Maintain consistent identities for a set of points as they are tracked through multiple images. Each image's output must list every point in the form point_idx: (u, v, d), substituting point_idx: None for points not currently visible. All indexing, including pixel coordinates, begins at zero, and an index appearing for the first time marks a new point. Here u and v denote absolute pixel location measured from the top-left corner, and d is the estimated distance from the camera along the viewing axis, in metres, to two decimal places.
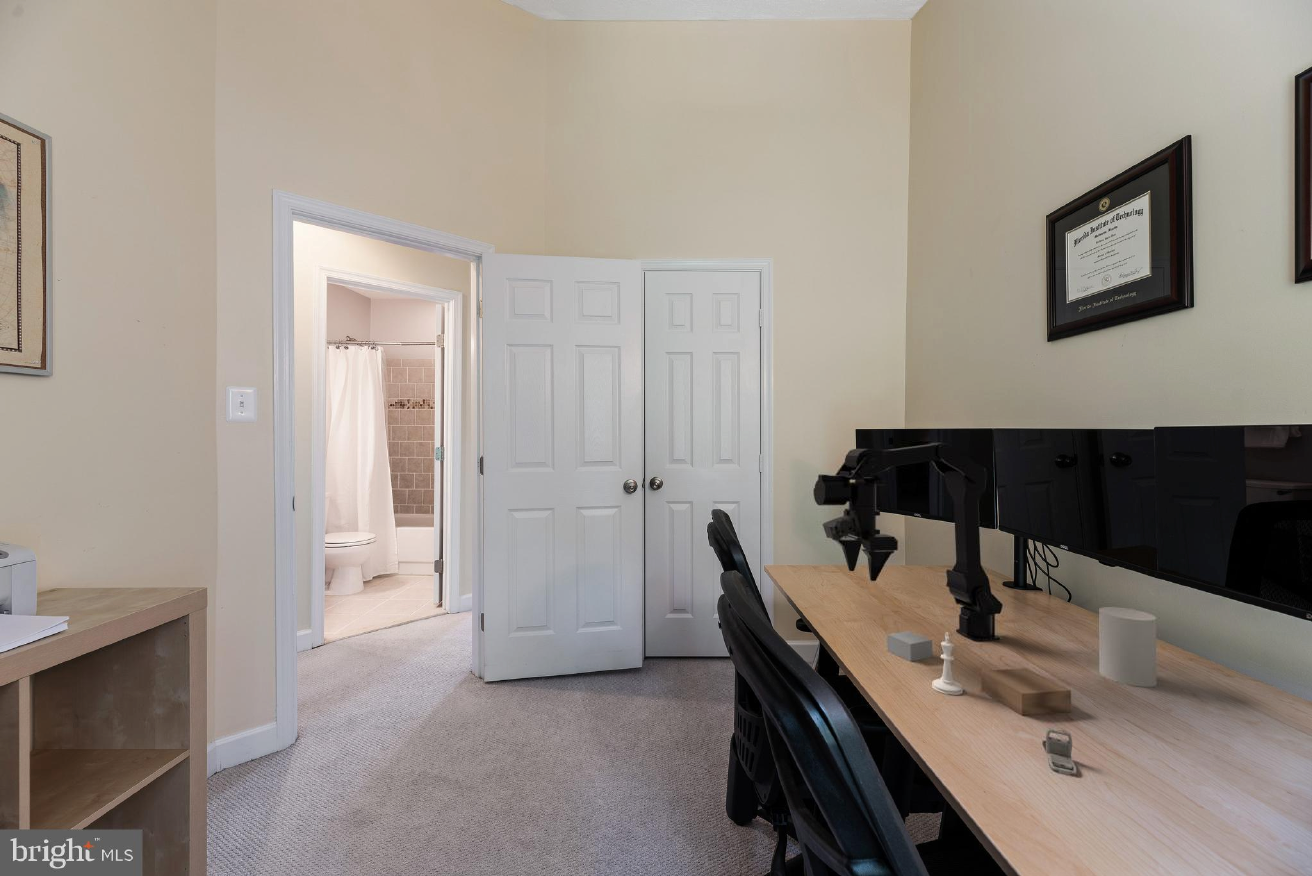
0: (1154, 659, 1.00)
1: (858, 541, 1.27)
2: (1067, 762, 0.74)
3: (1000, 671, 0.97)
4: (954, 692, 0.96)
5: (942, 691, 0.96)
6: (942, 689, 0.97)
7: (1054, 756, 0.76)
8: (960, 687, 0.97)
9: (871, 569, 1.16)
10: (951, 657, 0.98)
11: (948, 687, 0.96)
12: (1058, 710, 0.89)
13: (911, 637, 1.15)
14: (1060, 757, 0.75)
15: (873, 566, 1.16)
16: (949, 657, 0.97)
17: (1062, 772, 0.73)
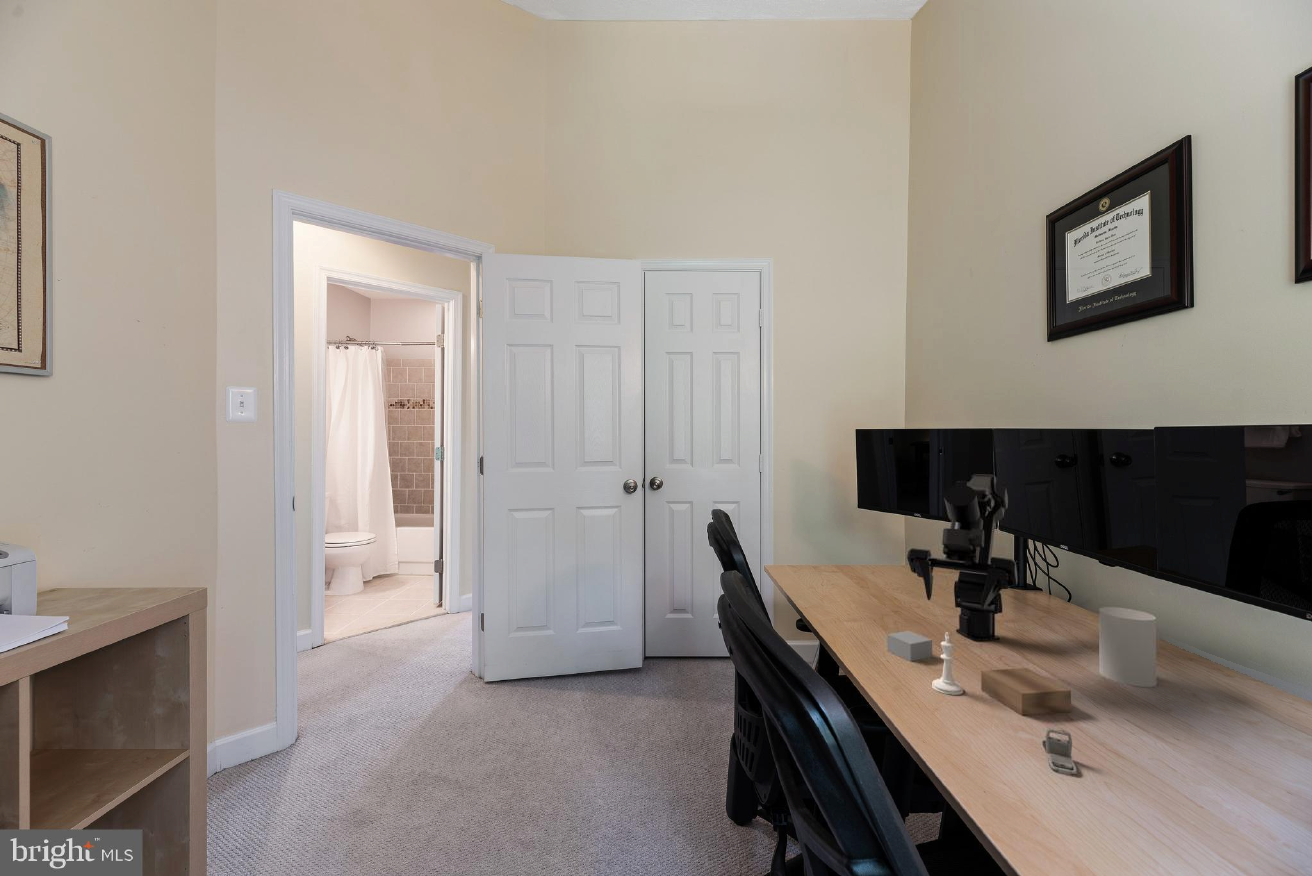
0: (1154, 659, 1.00)
1: (932, 575, 1.13)
2: (1067, 762, 0.74)
3: (1000, 671, 0.97)
4: (954, 692, 0.96)
5: (942, 691, 0.96)
6: (942, 689, 0.97)
7: (1054, 756, 0.76)
8: (960, 687, 0.97)
9: (989, 593, 1.02)
10: (951, 657, 0.98)
11: (948, 687, 0.96)
12: (1058, 710, 0.89)
13: (911, 637, 1.15)
14: (1060, 757, 0.75)
15: (990, 592, 1.03)
16: (949, 657, 0.97)
17: (1062, 772, 0.73)
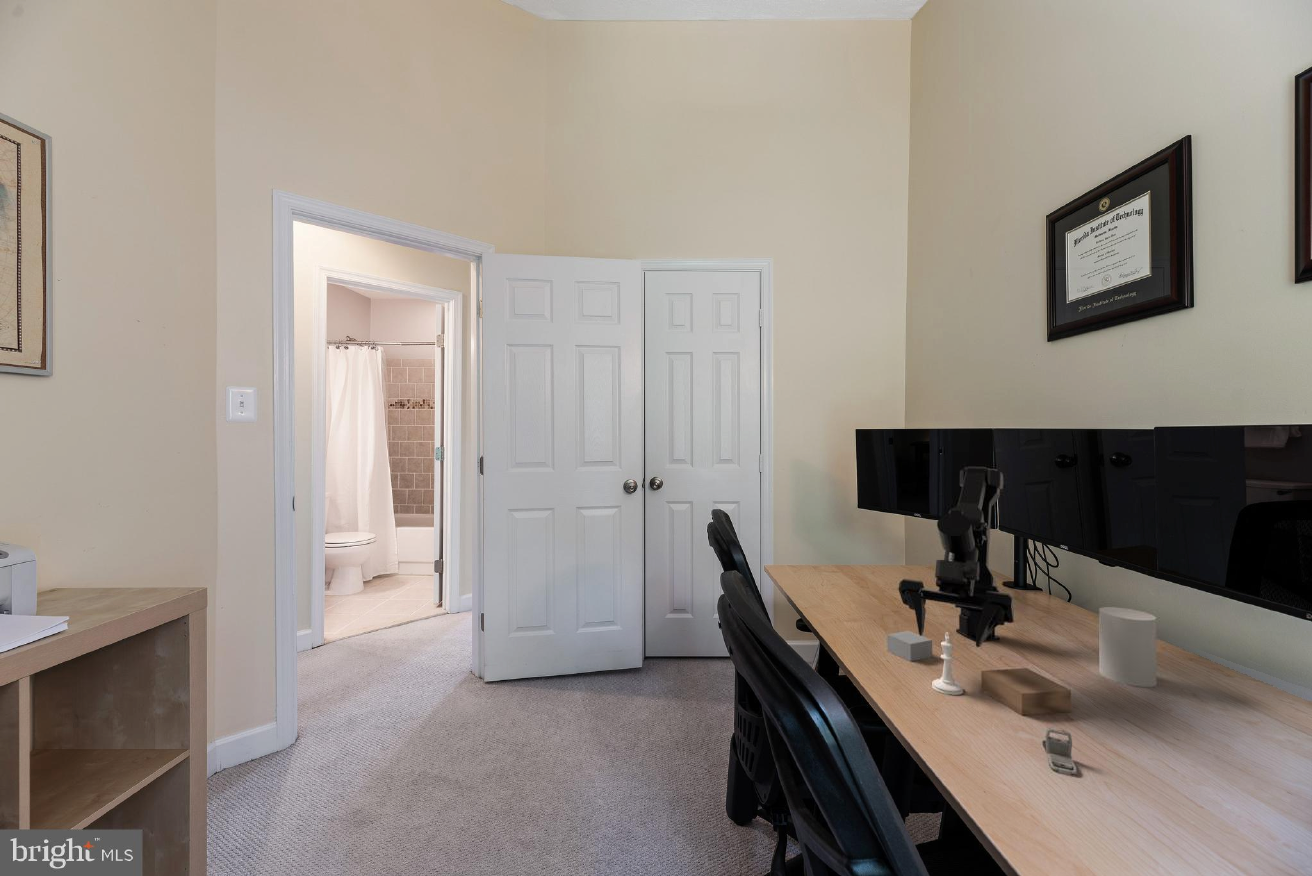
0: (1154, 659, 1.00)
1: (924, 608, 1.07)
2: (1067, 762, 0.74)
3: (1000, 671, 0.97)
4: (954, 692, 0.96)
5: (942, 691, 0.96)
6: (942, 689, 0.97)
7: (1054, 756, 0.76)
8: (960, 687, 0.97)
9: (984, 630, 0.96)
10: (951, 657, 0.98)
11: (948, 687, 0.96)
12: (1058, 710, 0.89)
13: (911, 637, 1.15)
14: (1060, 757, 0.75)
15: (986, 629, 0.97)
16: (949, 657, 0.97)
17: (1062, 772, 0.73)
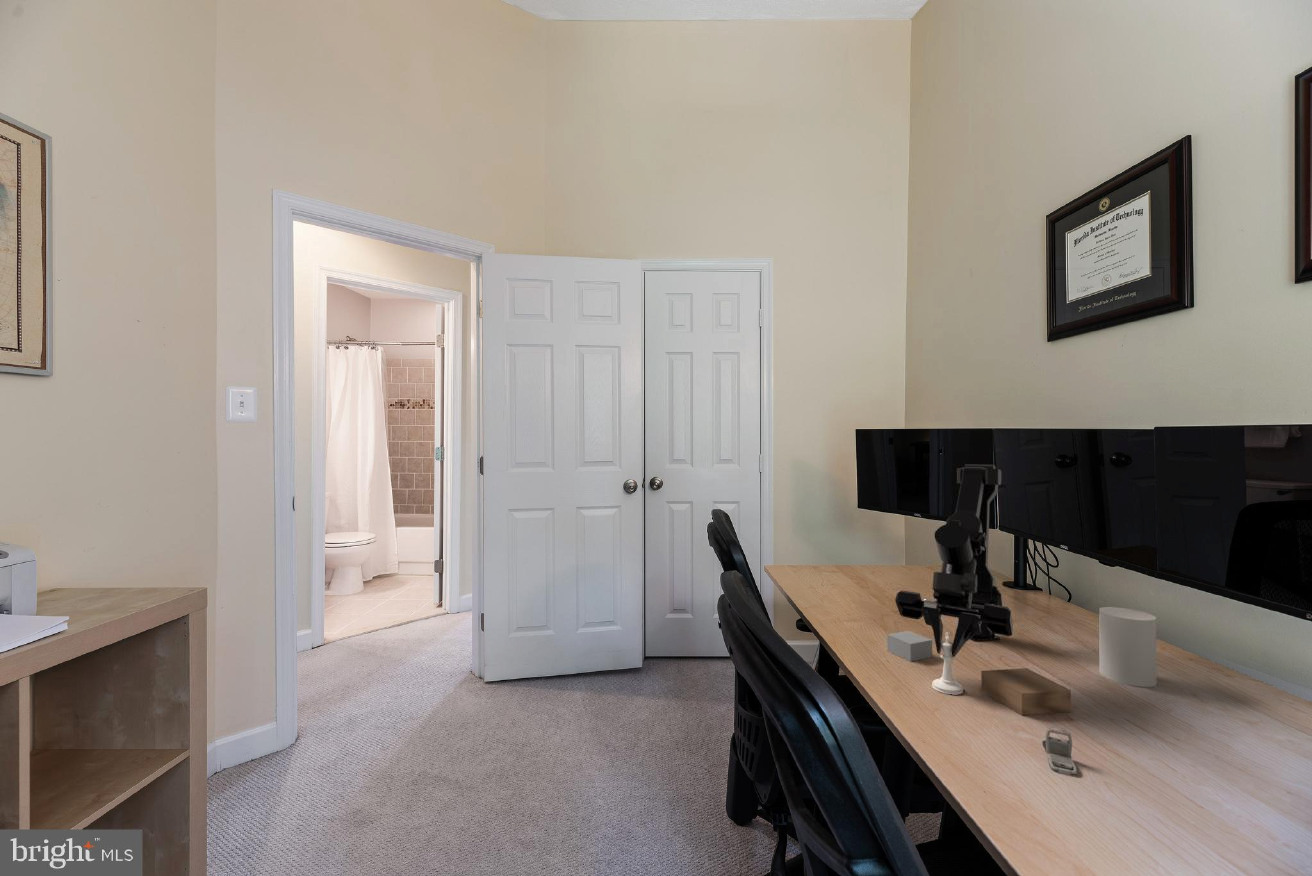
0: (1154, 659, 1.00)
1: (942, 624, 1.03)
2: (1067, 762, 0.74)
3: (1000, 671, 0.97)
4: (954, 692, 0.96)
5: (942, 691, 0.96)
6: (942, 689, 0.97)
7: (1054, 756, 0.76)
8: (960, 687, 0.97)
9: (959, 640, 0.97)
10: (951, 657, 0.98)
11: (948, 687, 0.96)
12: (1058, 710, 0.89)
13: (911, 637, 1.15)
14: (1060, 757, 0.75)
15: (961, 638, 0.97)
16: (949, 657, 0.97)
17: (1062, 772, 0.73)
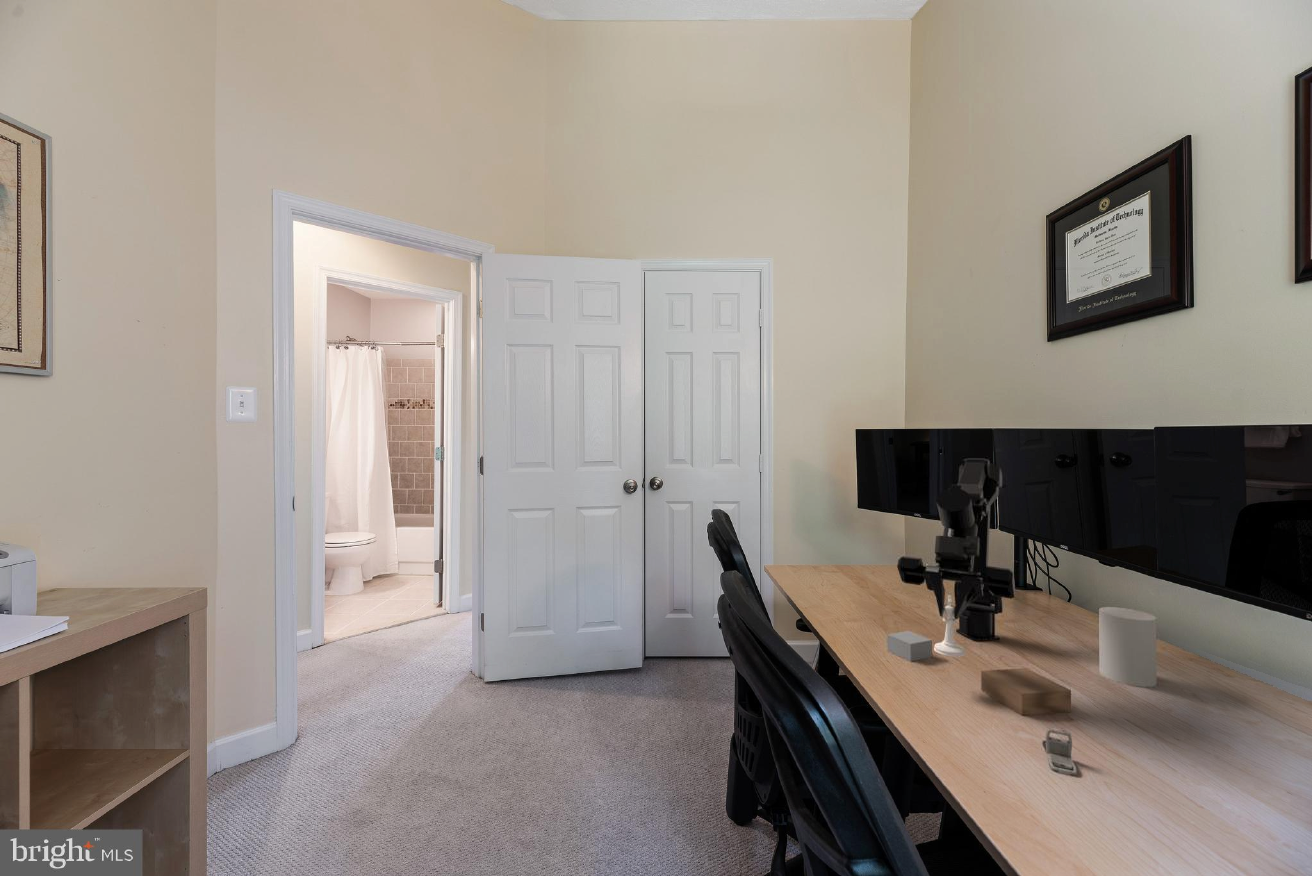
0: (1154, 659, 1.00)
1: None
2: (1067, 762, 0.74)
3: (1000, 671, 0.97)
4: (956, 654, 0.96)
5: (944, 653, 0.96)
6: (944, 651, 0.97)
7: (1054, 756, 0.76)
8: (962, 649, 0.97)
9: (962, 602, 0.97)
10: (953, 620, 0.98)
11: (950, 649, 0.96)
12: (1058, 710, 0.89)
13: (911, 637, 1.15)
14: (1060, 757, 0.75)
15: (964, 601, 0.97)
16: (951, 620, 0.97)
17: (1062, 772, 0.73)
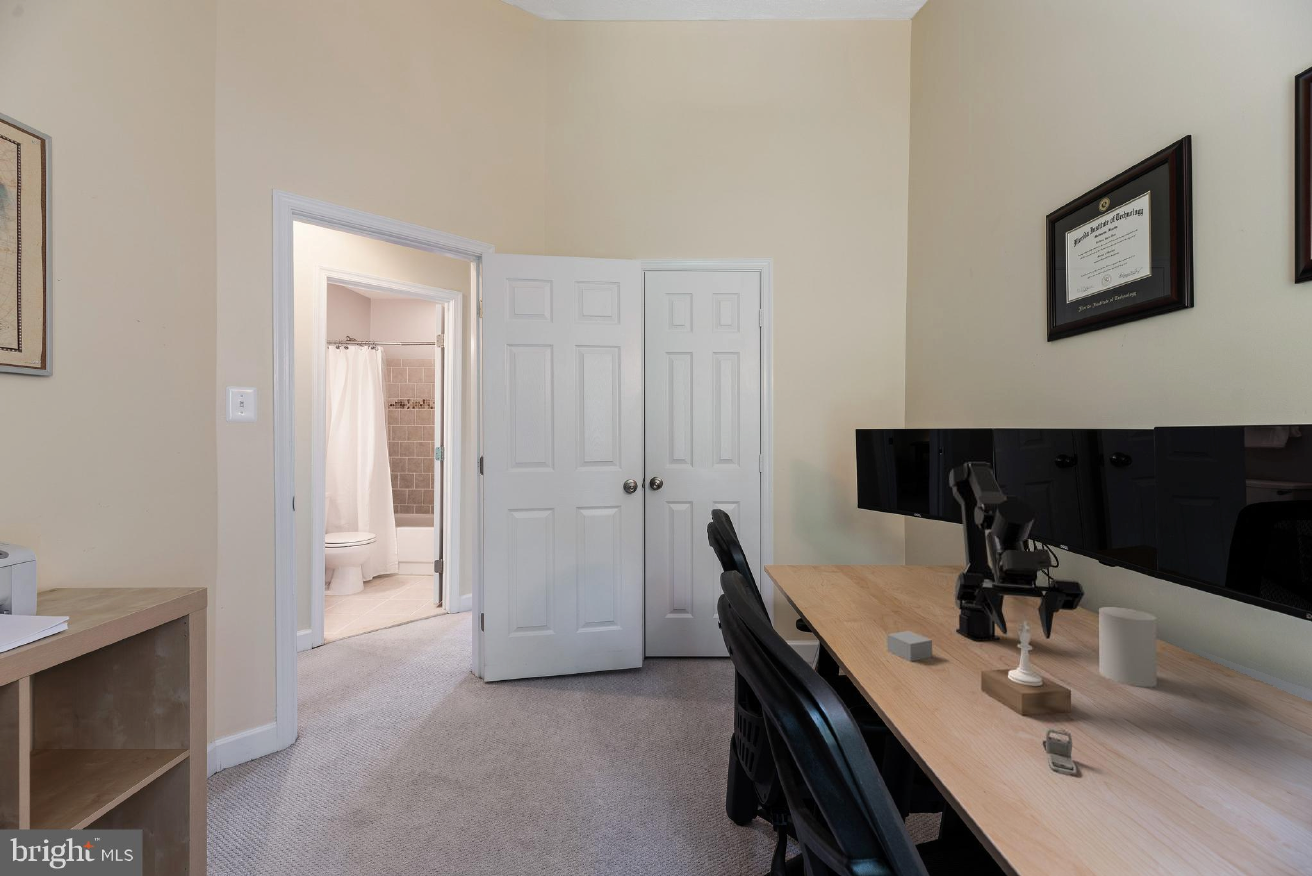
0: (1154, 659, 1.00)
1: None
2: (1067, 762, 0.74)
3: (1000, 671, 0.97)
4: (1038, 683, 0.91)
5: (1026, 683, 0.92)
6: (1026, 681, 0.92)
7: (1054, 756, 0.76)
8: (1039, 676, 0.93)
9: (1051, 620, 0.92)
10: (1030, 646, 0.93)
11: (1031, 678, 0.92)
12: (1058, 710, 0.89)
13: (911, 637, 1.15)
14: (1060, 757, 0.75)
15: None
16: (1028, 646, 0.93)
17: (1062, 772, 0.73)
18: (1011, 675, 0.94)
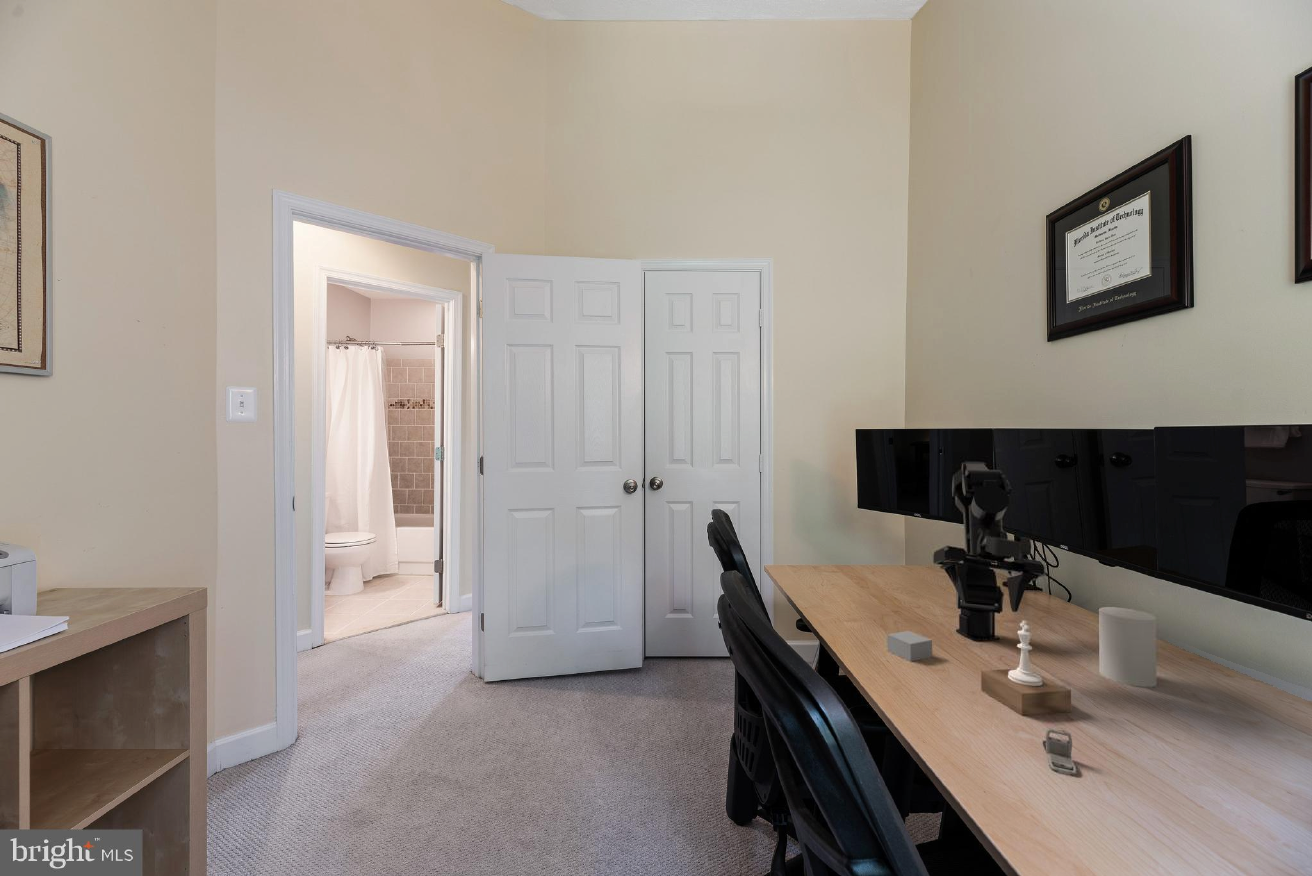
0: (1154, 659, 1.00)
1: None
2: (1067, 762, 0.74)
3: (1000, 671, 0.97)
4: (1038, 683, 0.91)
5: (1026, 683, 0.92)
6: (1026, 681, 0.92)
7: (1054, 756, 0.76)
8: (1039, 676, 0.93)
9: (1021, 597, 1.05)
10: (1029, 646, 0.93)
11: (1031, 678, 0.92)
12: (1058, 710, 0.89)
13: (911, 637, 1.15)
14: (1060, 757, 0.75)
15: None
16: (1028, 646, 0.93)
17: (1062, 772, 0.73)
18: (1011, 675, 0.94)
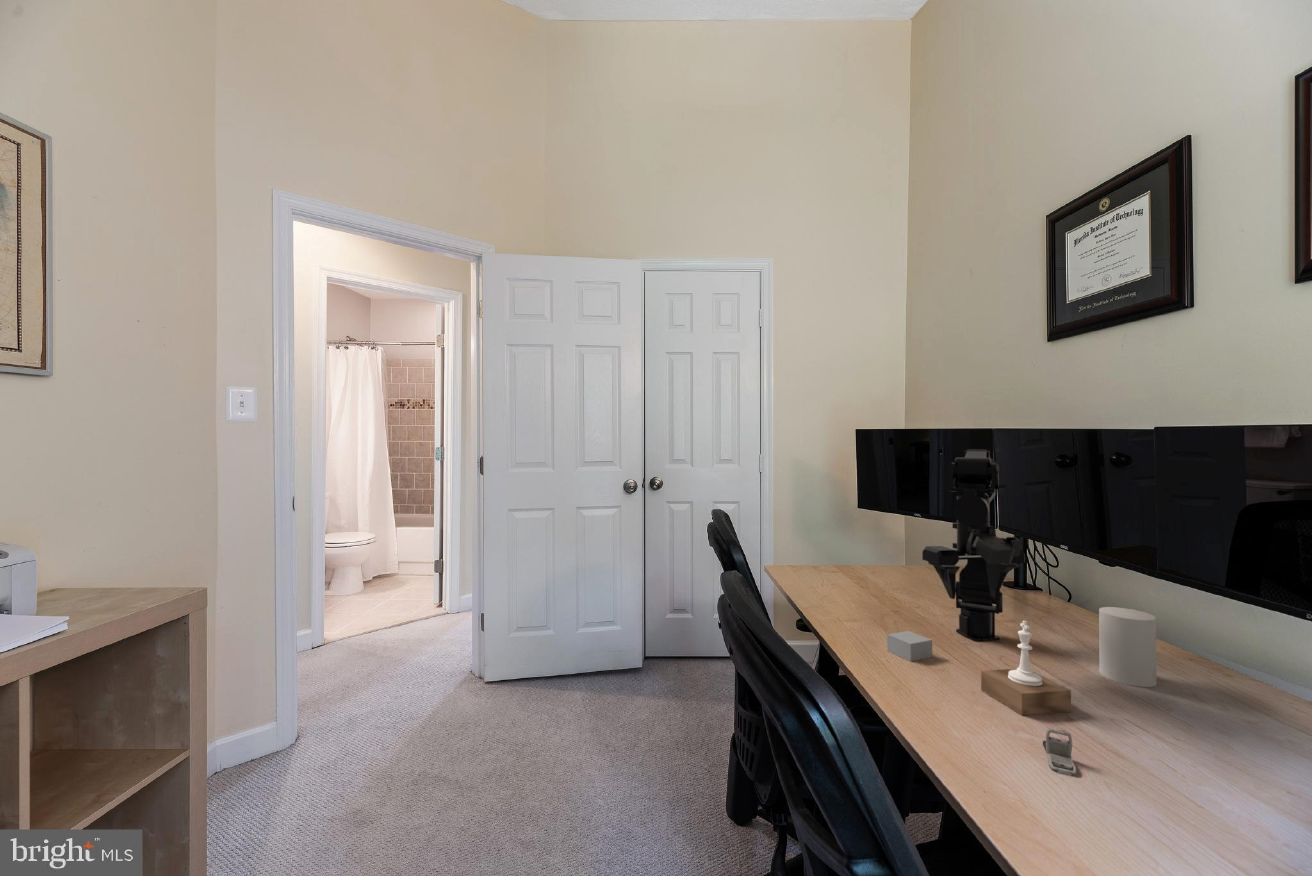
0: (1154, 659, 1.00)
1: None
2: (1067, 762, 0.74)
3: (1000, 671, 0.97)
4: (1038, 683, 0.91)
5: (1026, 683, 0.92)
6: (1026, 681, 0.92)
7: (1054, 756, 0.76)
8: (1039, 676, 0.93)
9: None
10: (1030, 646, 0.93)
11: (1031, 678, 0.92)
12: (1058, 710, 0.89)
13: (911, 637, 1.15)
14: (1060, 757, 0.75)
15: None
16: (1028, 646, 0.93)
17: (1062, 772, 0.73)
18: (1011, 675, 0.94)
